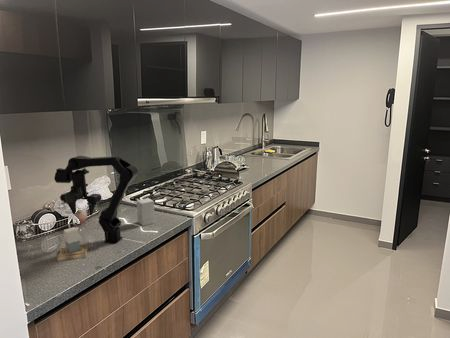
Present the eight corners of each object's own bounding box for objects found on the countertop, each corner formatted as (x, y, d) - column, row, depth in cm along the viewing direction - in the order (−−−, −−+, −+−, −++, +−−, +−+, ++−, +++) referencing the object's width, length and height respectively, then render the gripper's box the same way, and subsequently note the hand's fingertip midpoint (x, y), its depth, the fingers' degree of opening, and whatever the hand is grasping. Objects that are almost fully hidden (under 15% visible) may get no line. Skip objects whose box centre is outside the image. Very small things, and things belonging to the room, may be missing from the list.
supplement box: (155, 223, 185) (154, 201, 183) (142, 226, 181) (140, 203, 179) (150, 219, 191) (148, 197, 189) (137, 222, 187) (136, 200, 185)
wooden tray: (88, 246, 158) (87, 242, 157) (85, 257, 147) (85, 252, 147) (62, 249, 155) (61, 245, 154) (57, 260, 144) (57, 256, 144)
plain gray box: (76, 247, 154) (74, 227, 152) (80, 250, 151) (78, 229, 149) (66, 251, 151) (63, 229, 149) (70, 254, 148) (67, 232, 145)
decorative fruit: (91, 223, 186) (89, 206, 184) (77, 228, 179) (75, 210, 177) (81, 220, 191) (79, 203, 189) (67, 225, 184) (65, 207, 182)
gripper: (49, 186, 154) (54, 219, 157) (85, 188, 149) (89, 222, 153) (66, 180, 164) (70, 211, 168) (100, 182, 160) (103, 213, 163)
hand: (82, 214), depth 162 cm, fingers open, 9 cm apart
